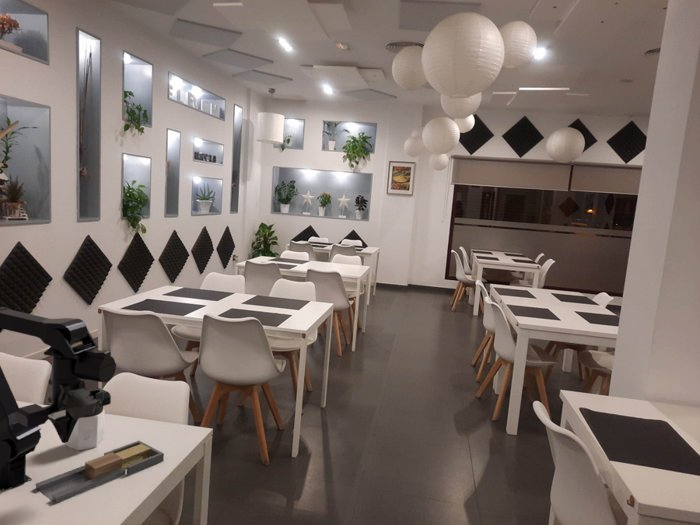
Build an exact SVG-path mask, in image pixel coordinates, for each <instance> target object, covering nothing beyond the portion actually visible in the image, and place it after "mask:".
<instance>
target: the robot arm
mask: <svg viewBox="0 0 700 525" xmlns="http://www.w3.org/2000/svg"><path fill="white" fill-rule="evenodd" d="M4 330H6V331H10V332H13V333H18V334H22V335H27V336H31V337H35V338H38V339H40V340H41V341H42V343H43V344H45V345H46V346H49V348H47V350H45V351H43V355H44V356H49V357H50V356H51V357H52V365H51V366H52V370H51V371H52V373H51V374H52V376H51V378H50V379H48V385H50V386H51V396H48V399H47V400H48V401H47V402H48V403H50V405H47V406H44V407H43V406H41V405H40V404H37V403H33V404H29V405H25V406H22V407H21V406H20V407H19V404H18V403H17V400H16V398H15V396H14V394H13V391H12V388H11V386H10V384H9V382H8V380H7V378H6V375H5V373H4V370H3V368H2V366H1V365H0V491H6V490H9V489H13V488H16V487H18V486H21V485H24V484H25V483H27V482H30V481H32V480H33V479H32V478H31V477H30V476H28V475H27V474H26V470H27V468H26V467H27V465H26V464H27V455H28V454H30V453H32V452H34V451H35V450H36V447H37V446H38V444H39V443H40V439H41V438H42V433H41V431H42V427H41V426H42V425H44V424H46V422H47V421H48V420H49V421H50V422H51V424H52V425H53V427H54V428H55V431H56V433H57V435H58V437H59V439H60V441H61V443H63V444H67V442H68V440H69V438H70V436H71V433H72V431H73V429H74V427H75V424H76V423H77V421H78V419H79V418H81V417H82V416H86V415H91V414H93V413H94V410H95V407H98V406H99V407H102V406H103V407H105V406H108V405H111V403H112V395H111V393H110V392H109V391H107V390H105V389H102V388H100V387H93V388H90V389H87V388H86V383H85V381H87V380H88V381H91V382H92V381H93V382H100V383H103V384H105V383H108V382H110V381H111V380H112V378H113V377H114V375H115V373H116V368H117V363H116V361H115V358H114V357H113V356H111V351H110V350H99V349H98V348H99V346H98V344H97V343H96V341H95V339H94V338H93V335H92V334H91V333H90V331H89V329H88V328H87V325H86V324H85V321H84V320H83V319H81V318H76V317H75V318H74V317H73V318H72V317H69V318H67V317H66V318H65V317H63V318H62V317H61V318H48V317H44V316H40V315H36V314H30V313H26V312H22V311H19V310H18V311H17V310H13V309H11V308H9V307H4V306H2V307H0V334H1V333H2V332H4ZM81 343H82V344H81ZM79 344H80V345H79Z"/></svg>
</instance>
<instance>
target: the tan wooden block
mask: <svg viewBox="0 0 700 525" xmlns="http://www.w3.org/2000/svg"><path fill="white" fill-rule="evenodd" d="M129 450H130V451H132V452H134V453H136V454H137V460H136V463H137V462H139V461H142V460H144V459H147V458H149V457H151V456H150V448H148V447H146V446H145V445H143V444H140V445H137V446H134V447H132V448H129Z"/></svg>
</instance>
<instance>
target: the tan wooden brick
mask: <svg viewBox="0 0 700 525" xmlns="http://www.w3.org/2000/svg"><path fill="white" fill-rule="evenodd" d="M84 465H85V475H86V476H87V477H89V478H90V479H94V478H96V477H99V476H101V475H104V474H106V473H109V472H111V471H114V470H116V469H119V468H122V458H121V457H120V456H118V455H116V454H114V453H113V452H112V453H109V454H106V455H104V454H103V455H101V456H98V457H96V458H93V459H90V460H87V461H85V463H84Z"/></svg>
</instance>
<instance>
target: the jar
mask: <svg viewBox="0 0 700 525" xmlns="http://www.w3.org/2000/svg"><path fill="white" fill-rule="evenodd" d="M105 411H106V410H105V409H104V406H102V407H99V406H98V407H95V410H94V413H93V414H91V415H86V416H82V417H81V418H79V419H78V421H77V423H76V424H75V427H74V429H73V431H72V433H71V436H70V438H69V440H68V442H67V443H66V446H67V447H69V448H72V449H74V450H76V451H82V450H88V449H93V448H98V446H99V445H101V443H102V442H103V441H104V438H105V437H104V436H105V431H104V430H105V418H106V417H105V416H106V413H105Z"/></svg>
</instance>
